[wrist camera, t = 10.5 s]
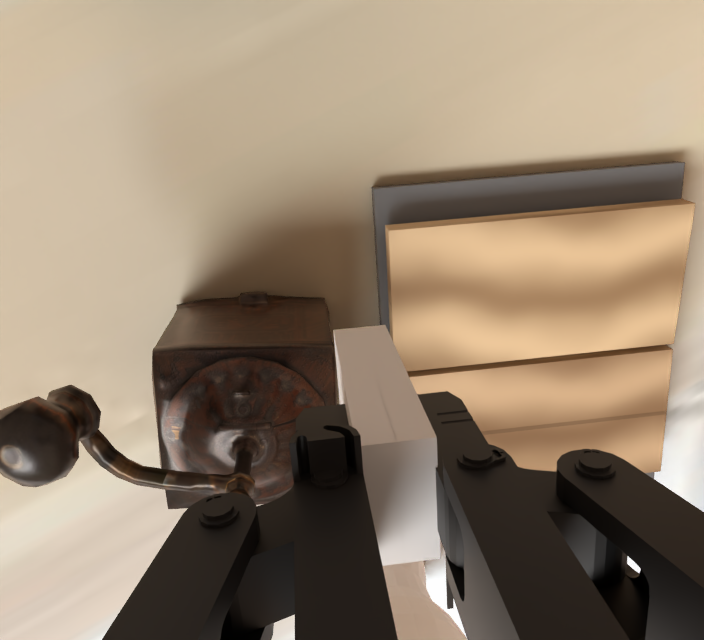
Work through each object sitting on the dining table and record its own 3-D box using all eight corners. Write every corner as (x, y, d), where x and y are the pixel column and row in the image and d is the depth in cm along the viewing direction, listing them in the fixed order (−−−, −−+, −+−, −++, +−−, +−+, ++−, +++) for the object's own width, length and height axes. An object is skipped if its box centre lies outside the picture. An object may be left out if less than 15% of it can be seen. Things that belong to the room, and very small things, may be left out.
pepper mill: (329, 287, 42) (355, 400, 25) (330, 430, 46) (354, 615, 28) (98, 292, 41) (-42, 415, 24) (117, 439, 44) (7, 639, 27)
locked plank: (391, 370, 43) (395, 378, 42) (660, 342, 45) (672, 349, 43) (398, 490, 46) (401, 502, 45) (649, 460, 48) (660, 471, 46)
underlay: (371, 187, 40) (373, 189, 39) (675, 161, 42) (684, 162, 41) (391, 507, 48) (393, 515, 47) (646, 477, 49) (653, 484, 48)
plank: (384, 225, 39) (388, 230, 38) (681, 198, 41) (695, 203, 39) (391, 363, 43) (394, 372, 42) (661, 334, 44) (673, 343, 43)
